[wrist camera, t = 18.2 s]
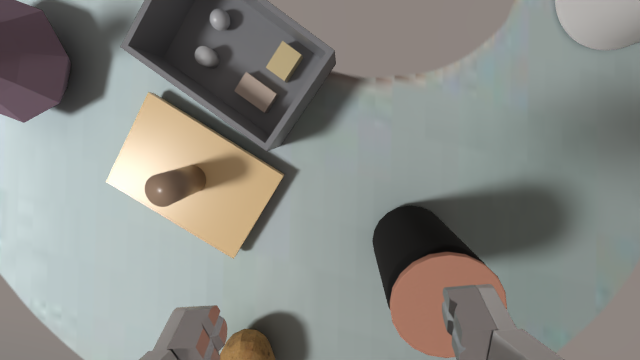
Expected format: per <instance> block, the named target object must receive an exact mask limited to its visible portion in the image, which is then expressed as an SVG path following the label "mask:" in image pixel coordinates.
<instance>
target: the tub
mask: <svg viewBox="0 0 640 360" xmlns="http://www.w3.org/2000/svg"><path fill="white" fill-rule="evenodd" d="M120 47H121V48H122V49H124V50H125V51H127V52H128V53H129V54H131V55H132V56H134V57H135V58H136V59H138V60H139V61H141V62H142V63H143V64H145V65H146V66H148V67H149V68H151V69H152V70H153V71H155V72H156V73H158V74H159V75H160V76H162V77H163V78H165V79H166V80H167V81H169V82H170V83H172V84H173V85H174V86H176V87H177V88H179V89H180V90H181V91H183V92H184V93H186V94H187V95H188V96H190V97H191V98H193V99H194V100H195V101H197V102H198V103H200V104H201V105H202V106H204V107H205V108H207V109H208V110H209V111H211V112H212V113H214V114H215V115H216V116H218V117H219V118H221V119H222V120H223V121H225V122H226V123H228V124H229V125H230V126H232V127H233V128H235V129H236V130H238V131H239V132H240V133H242V134H243V135H245V136H246V137H247V138H249V139H250V140H252V141H253V142H254V143H256V144H257V145H259V146H260V147H261V148H263V149H264V150H266V151H269V150H272V149H274V148H277V147H279V146H280V145H281V144H282V142H283V141H284V139H285V138H286V136H287V135H288V134H289V132H290V131H291V129H292V128H293V126H294V125H295V123H296V122H297V120H298V119H299V117H300V116H301V114H302V113H303V111H304V110H305V109H306V107H307V106H308V104H309V103H310V101H311V100H312V98H313V97H314V95H315V94H316V92H317V91H318V89H319V88H320V86H321V85H322V84H323V82H324V81H325V79H326V78H327V76H328V75H329V73H330V72H331V70H332V69H333V67H334V66H335V64H336V61H335V51H334V50H333V49H332V48H331V47H329V46H328V45H326V44H325V43H324V42H322V41H321V40H320V39H318V38H317V37H316V36H314V35H313V34H312V33H310V32H309V31H307V30H306V29H305V28H304V27H302V26H301V25H299V24H298V23H297V22H296V21H294V20H293V19H292V18H290V17H289V16H287V15H286V14H285V13H283V12H282V11H281V10H279V9H278V8H277V7H275V6H274V5H273V4H271V3H270V2H269V1H267V0H144V2H143V4H142V6H141V8H140V10H139V12H138V14H137V16H136V18H135V19H134V21H133V23H132V25H131V27H130V29H129V31H128V33H127V35H126V37H125V39H124V41H123V42H122V44H121V46H120Z"/></svg>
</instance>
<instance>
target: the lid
mask: <svg viewBox="0 0 640 360" xmlns="http://www.w3.org/2000/svg"><path fill="white" fill-rule="evenodd" d="M284 175H285V174H283V173H282V172H280V171H278V170H277V169H275V168H274V167H272V166H270V165H269V164H267V163H266V162H264V161H262V160H261V159H259V158H257V157H256V156H254V155H253V154H251V153H249V152H248V151H246V150H245V149H243V148H241V147H240V146H238V145H237V144H235V143H233V142H232V141H230V140H228V139H227V138H225V137H224V136H222V135H220V134H219V133H217V132H216V131H214V130H212V129H211V128H209V127H208V126H206V125H204V124H203V123H201V122H199V121H198V120H196V119H195V118H193V117H191V116H190V115H188V114H187V113H185V112H183V111H182V110H180V109H179V108H177V107H175V106H174V105H172V104H170V103H169V102H167V101H166V100H164V99H162V98H161V97H159V96H158V95H156V94H154V93H150V92H148V94H147V96H146V98H145V100H144V102H143V105H142V107H141V109H140V111H139V113H138V115H137V117H136V119H135V121H134V123H133V126H132V128H131V130H130V132H129V134H128V136H127V138H126V140H125V142H124V145H123V147H122V149H121V151H120V153H119V155H118V157H117V159H116V161H115V164H114V166H113V168H112V170H111V172H110V174H109V176H108V178H107V180H106V182H107V183H109V184H111V185H112V186H114V187H116V188H117V189H119V190H121V191H122V192H124V193H126V194H127V195H129V196H131V197H132V198H134V199H135V200H137V201H139V202H140V203H142V204H144V205H145V206H147V207H149V208H150V209H152V210H154V211H155V212H157V213H159V214H160V215H162V216H164V217H165V218H167V219H169V220H170V221H172V222H174V223H175V224H177V225H179V226H180V227H182V228H183V229H185V230H187V231H188V232H190V233H192V234H193V235H195V236H197V237H198V238H200V239H202V240H203V241H205V242H207V243H208V244H210V245H212V246H213V247H215V248H217V249H218V250H220V251H222V252H223V253H225V254H227V255H228V256H230V257H232V258H233V259H234V257H235V256H236V255H237V253H238V251H239V250H240V248H241V246H242V245H243V243H244V241H245V240H246V238H247V236H248V235H249V233H250V232H251V230H252V228H253V227H254V225H255V223H256V222H257V220H258V218H259V217H260V215H261V213H262V212H263V210H264V208H265V207H266V205H267V203H268V202H269V200H270V198H271V197H272V195H273V194H274V192H275V190H276V189H277V187H278V185H279V184H280V182H281V180H282V179H283V177H284Z"/></svg>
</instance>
